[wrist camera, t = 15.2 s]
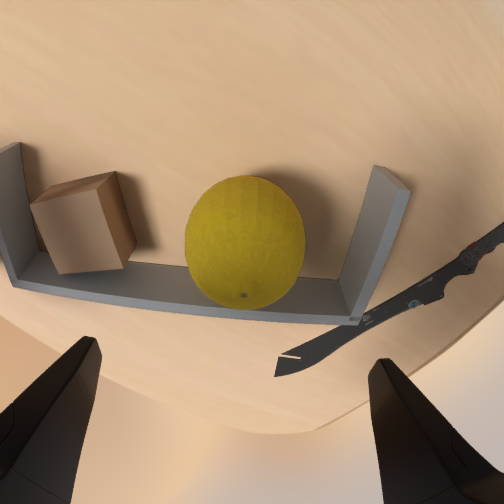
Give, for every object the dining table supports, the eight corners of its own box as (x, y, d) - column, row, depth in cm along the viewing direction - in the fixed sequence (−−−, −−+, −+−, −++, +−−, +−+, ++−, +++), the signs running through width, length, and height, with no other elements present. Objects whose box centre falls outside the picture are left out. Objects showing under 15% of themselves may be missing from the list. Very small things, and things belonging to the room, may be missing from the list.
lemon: (306, 171, 17) (344, 250, 10) (277, 251, 20) (289, 353, 13) (208, 146, 16) (178, 212, 10) (190, 232, 19) (162, 330, 12)
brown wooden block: (116, 169, 17) (96, 189, 14) (137, 241, 20) (123, 268, 17) (53, 184, 17) (29, 205, 15) (77, 248, 20) (58, 274, 17)
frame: (385, 167, 17) (411, 191, 14) (345, 290, 22) (357, 325, 19) (11, 143, 15) (-22, 161, 12) (34, 258, 20) (12, 286, 17)
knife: (248, 389, 30) (248, 394, 29) (221, 371, 28) (221, 376, 27) (534, 231, 19) (538, 235, 19) (532, 195, 18) (536, 199, 17)
